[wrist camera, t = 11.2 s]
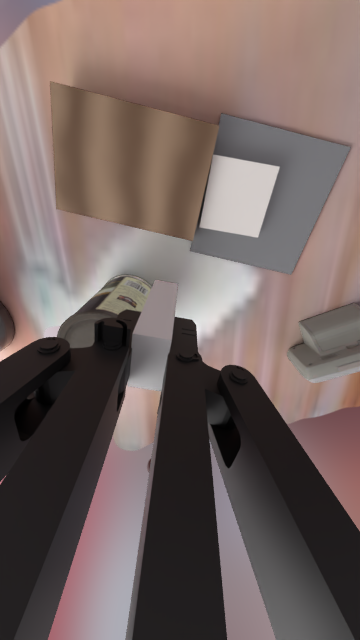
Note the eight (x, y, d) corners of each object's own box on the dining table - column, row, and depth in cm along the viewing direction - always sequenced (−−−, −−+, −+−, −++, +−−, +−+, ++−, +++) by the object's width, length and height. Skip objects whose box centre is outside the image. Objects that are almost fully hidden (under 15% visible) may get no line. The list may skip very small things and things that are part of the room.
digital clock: (282, 357, 42) (307, 402, 33) (279, 316, 38) (307, 353, 29) (377, 342, 39) (435, 386, 30) (385, 296, 35) (455, 330, 26)
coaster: (199, 225, 32) (199, 227, 30) (211, 157, 28) (213, 154, 26) (254, 235, 32) (257, 237, 30) (274, 169, 28) (279, 166, 26)
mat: (189, 250, 34) (189, 251, 33) (221, 114, 26) (221, 113, 26) (290, 273, 34) (291, 274, 34) (348, 148, 27) (350, 147, 26)
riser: (71, 208, 32) (56, 208, 28) (69, 97, 26) (49, 81, 23) (193, 236, 33) (192, 241, 29) (216, 135, 27) (219, 125, 24)
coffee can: (104, 326, 41) (65, 380, 29) (98, 272, 36) (47, 308, 24) (159, 331, 41) (144, 387, 28) (160, 276, 36) (142, 316, 24)
